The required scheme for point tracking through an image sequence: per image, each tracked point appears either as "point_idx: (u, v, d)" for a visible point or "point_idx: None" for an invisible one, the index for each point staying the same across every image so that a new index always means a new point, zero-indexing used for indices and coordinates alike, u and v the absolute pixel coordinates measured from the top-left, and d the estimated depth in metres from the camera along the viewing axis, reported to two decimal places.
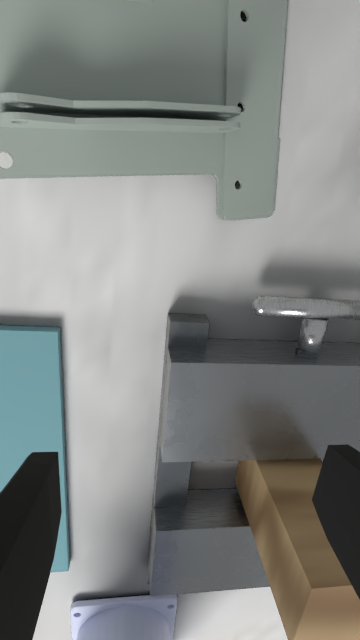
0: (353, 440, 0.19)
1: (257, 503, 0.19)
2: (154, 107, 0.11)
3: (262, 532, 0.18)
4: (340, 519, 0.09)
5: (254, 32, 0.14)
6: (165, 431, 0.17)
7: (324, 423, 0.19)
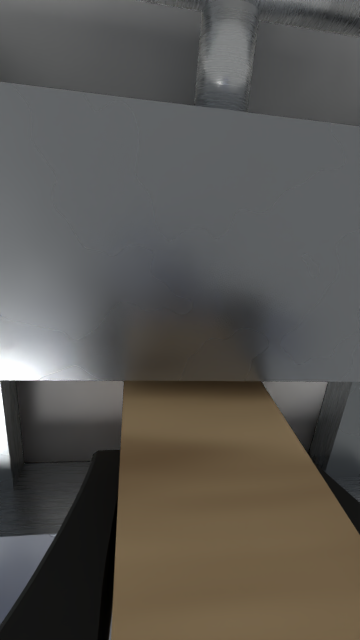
0: (331, 340, 0.09)
1: None
2: None
3: None
4: None
5: None
6: None
7: (263, 291, 0.08)
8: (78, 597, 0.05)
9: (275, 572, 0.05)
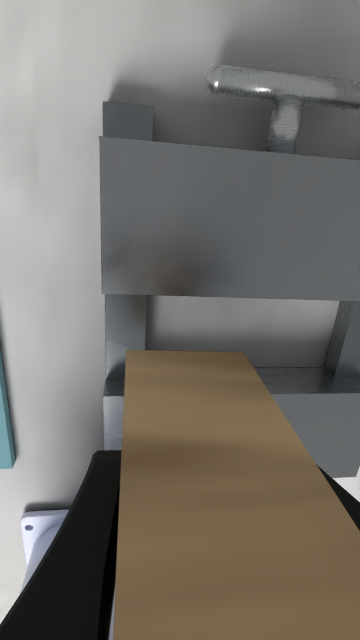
0: (340, 275, 0.16)
1: None
2: None
3: None
4: None
5: None
6: (102, 246, 0.14)
7: (303, 246, 0.15)
8: (77, 597, 0.05)
9: (276, 571, 0.05)
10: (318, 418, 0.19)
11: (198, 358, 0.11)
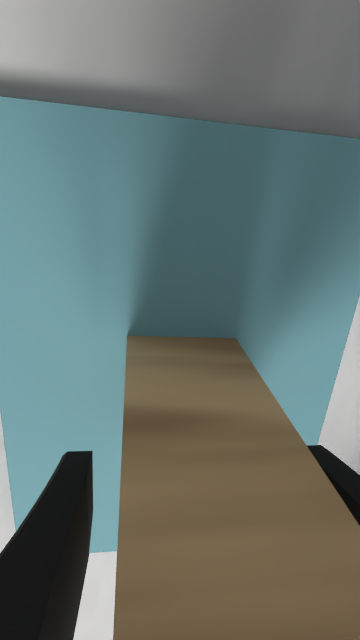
0: None
1: None
2: None
3: None
4: None
5: None
6: None
7: None
8: (24, 602, 0.05)
9: (256, 509, 0.06)
10: None
11: (193, 343, 0.12)
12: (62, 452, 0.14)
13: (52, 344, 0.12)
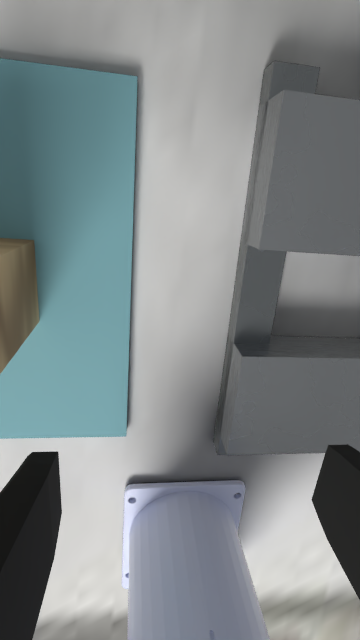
0: None
1: None
2: None
3: None
4: (340, 519, 0.09)
5: None
6: (266, 201, 0.14)
7: None
8: None
9: None
10: None
11: None
12: None
13: None
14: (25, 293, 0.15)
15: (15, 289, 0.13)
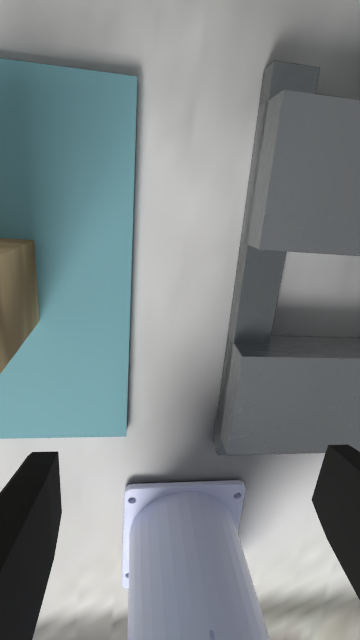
0: None
1: None
2: None
3: None
4: (340, 519, 0.09)
5: None
6: (266, 201, 0.14)
7: None
8: None
9: None
10: None
11: None
12: None
13: None
14: (25, 293, 0.15)
15: (15, 289, 0.13)
